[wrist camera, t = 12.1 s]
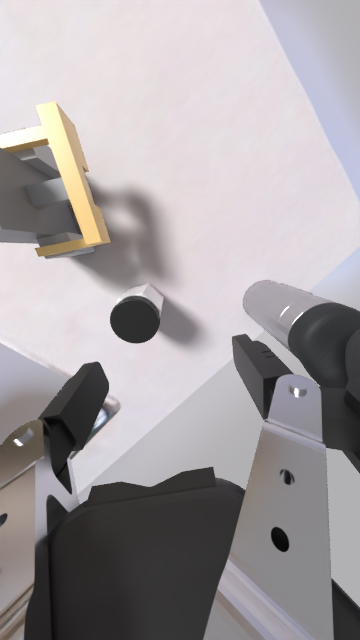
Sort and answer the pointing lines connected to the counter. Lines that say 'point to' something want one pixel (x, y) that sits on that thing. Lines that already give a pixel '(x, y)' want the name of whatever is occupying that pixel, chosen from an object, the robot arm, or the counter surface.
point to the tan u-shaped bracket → (63, 173)
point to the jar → (137, 314)
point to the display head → (35, 201)
